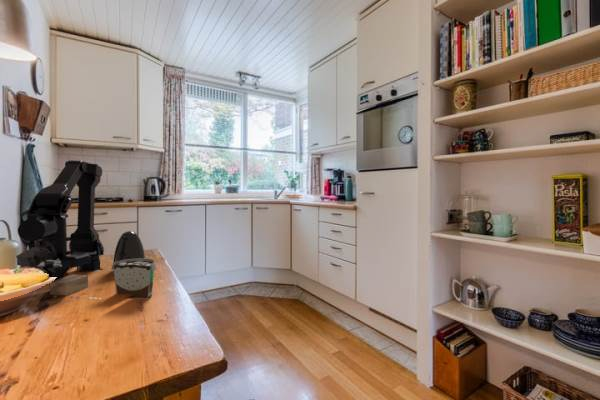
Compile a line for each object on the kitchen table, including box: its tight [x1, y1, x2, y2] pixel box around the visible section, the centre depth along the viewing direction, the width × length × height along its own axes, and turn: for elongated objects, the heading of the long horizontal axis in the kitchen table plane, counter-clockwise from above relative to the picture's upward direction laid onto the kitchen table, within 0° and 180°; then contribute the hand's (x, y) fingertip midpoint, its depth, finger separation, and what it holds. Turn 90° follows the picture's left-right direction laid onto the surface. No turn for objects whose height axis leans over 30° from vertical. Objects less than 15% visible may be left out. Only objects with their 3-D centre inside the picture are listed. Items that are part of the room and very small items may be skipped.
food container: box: [110, 258, 158, 300], centre depth 83 cm, size 12×6×10 cm, turn 85°
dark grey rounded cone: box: [112, 230, 146, 263], centre depth 104 cm, size 10×10×15 cm
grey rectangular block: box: [49, 274, 89, 296], centre depth 83 cm, size 5×7×4 cm
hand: (55, 288), depth 83 cm, fingers closed
